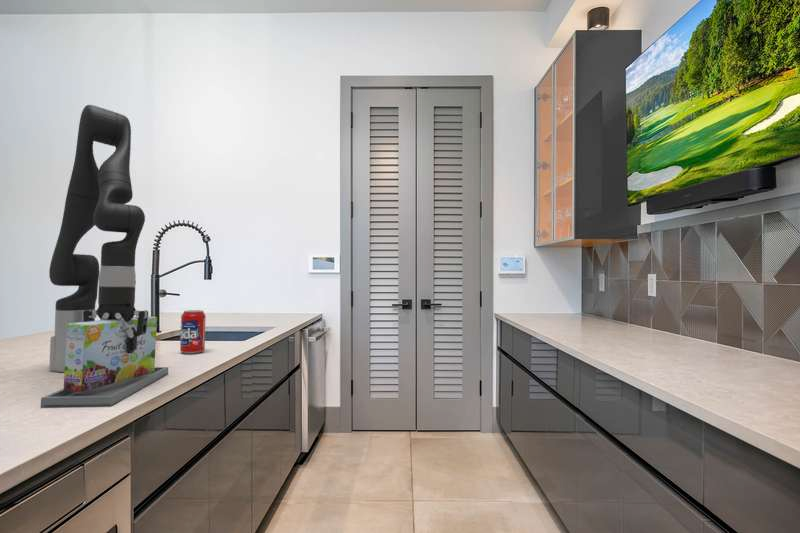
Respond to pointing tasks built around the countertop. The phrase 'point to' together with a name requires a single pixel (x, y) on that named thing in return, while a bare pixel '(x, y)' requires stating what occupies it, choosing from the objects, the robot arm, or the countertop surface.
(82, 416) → the countertop surface
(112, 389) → the tray
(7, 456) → the countertop surface
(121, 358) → the snack box
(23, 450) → the countertop surface
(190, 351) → the soda can
